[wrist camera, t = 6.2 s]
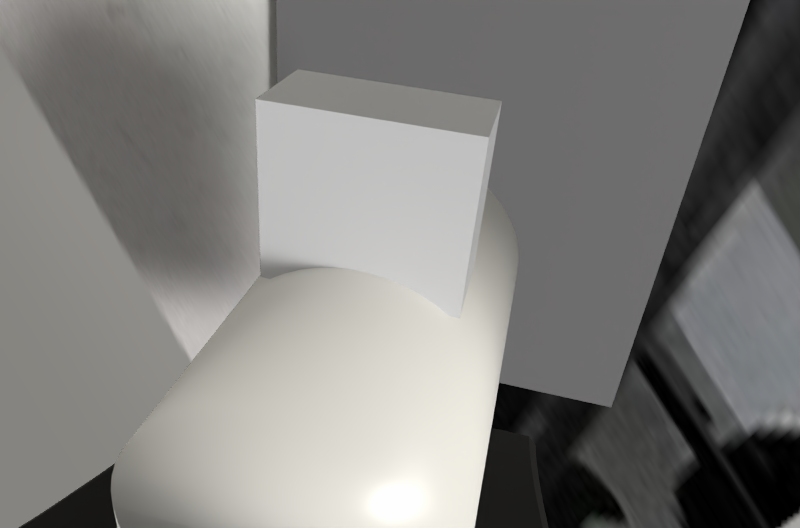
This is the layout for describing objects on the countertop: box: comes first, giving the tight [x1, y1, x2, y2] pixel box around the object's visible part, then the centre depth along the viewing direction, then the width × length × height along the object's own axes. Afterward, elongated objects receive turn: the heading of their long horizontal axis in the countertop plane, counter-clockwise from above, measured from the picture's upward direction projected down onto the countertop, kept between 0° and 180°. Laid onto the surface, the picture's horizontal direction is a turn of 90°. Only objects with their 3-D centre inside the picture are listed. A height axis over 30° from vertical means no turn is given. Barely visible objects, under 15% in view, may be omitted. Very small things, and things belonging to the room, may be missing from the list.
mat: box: [276, 0, 750, 407], centre depth 17 cm, size 11×10×1 cm
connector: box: [111, 69, 519, 528], centre depth 8 cm, size 10×3×5 cm, turn 175°
